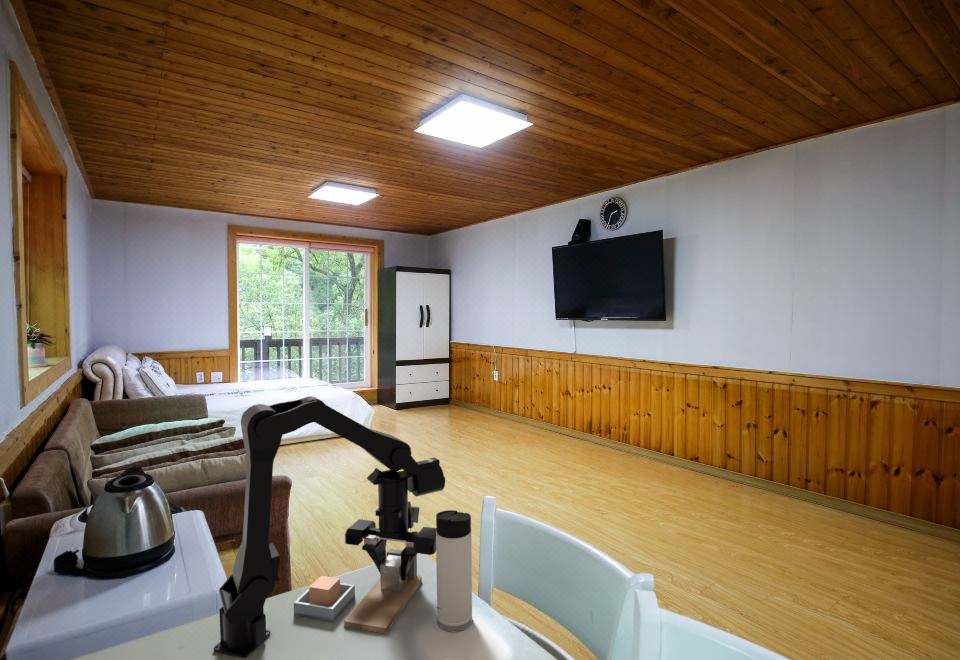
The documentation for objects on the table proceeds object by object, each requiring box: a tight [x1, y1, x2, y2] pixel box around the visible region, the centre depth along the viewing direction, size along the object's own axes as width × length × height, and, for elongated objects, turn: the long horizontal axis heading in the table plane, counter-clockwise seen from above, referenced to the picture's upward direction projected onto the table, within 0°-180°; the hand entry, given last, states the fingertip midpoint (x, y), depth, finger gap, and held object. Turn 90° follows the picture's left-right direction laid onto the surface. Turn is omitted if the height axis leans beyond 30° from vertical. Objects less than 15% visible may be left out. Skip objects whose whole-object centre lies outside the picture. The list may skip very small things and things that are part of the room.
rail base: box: [343, 548, 423, 635], centre depth 97 cm, size 8×17×6 cm, turn 165°
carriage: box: [379, 555, 408, 592], centre depth 101 cm, size 4×4×5 cm
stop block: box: [308, 575, 341, 607], centre depth 96 cm, size 4×4×4 cm
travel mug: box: [435, 509, 473, 633], centre depth 91 cm, size 6×7×20 cm
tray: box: [293, 582, 356, 624], centre depth 96 cm, size 8×8×2 cm
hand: (394, 578), depth 101 cm, fingers closed on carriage, 4 cm apart
